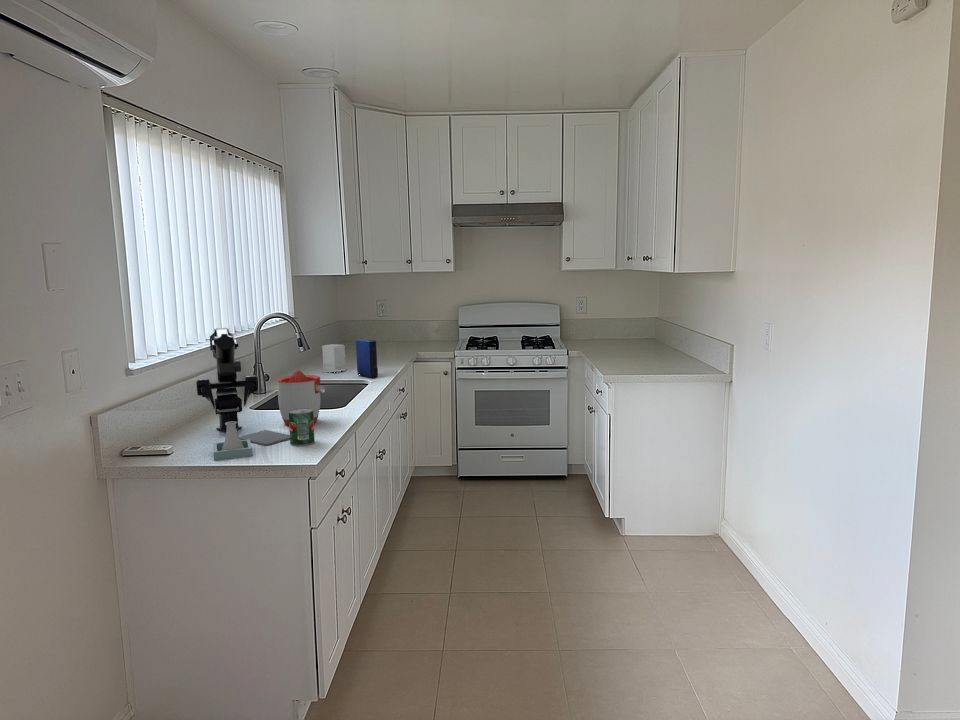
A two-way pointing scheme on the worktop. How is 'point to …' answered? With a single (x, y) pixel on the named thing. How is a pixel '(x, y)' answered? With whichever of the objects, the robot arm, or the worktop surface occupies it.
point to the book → (366, 358)
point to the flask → (231, 437)
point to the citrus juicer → (299, 394)
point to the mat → (265, 437)
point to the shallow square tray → (232, 451)
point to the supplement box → (333, 357)
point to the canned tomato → (301, 426)
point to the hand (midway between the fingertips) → (229, 406)
